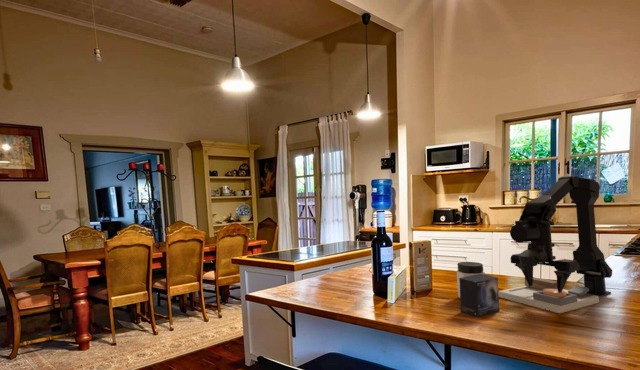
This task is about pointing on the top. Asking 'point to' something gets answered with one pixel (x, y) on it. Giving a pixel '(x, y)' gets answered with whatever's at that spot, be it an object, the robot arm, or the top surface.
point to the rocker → (578, 290)
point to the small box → (479, 294)
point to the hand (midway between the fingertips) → (544, 289)
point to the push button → (554, 293)
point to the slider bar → (542, 284)
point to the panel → (548, 299)
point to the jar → (468, 271)
